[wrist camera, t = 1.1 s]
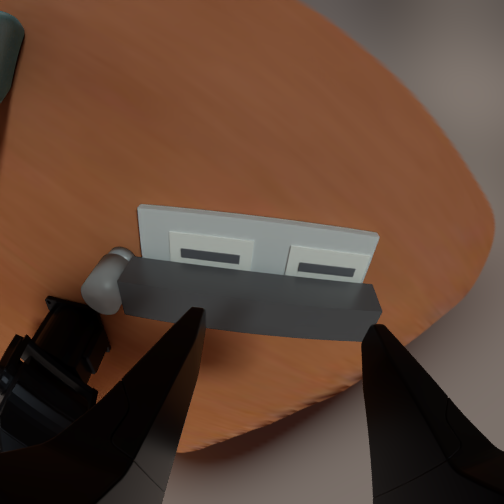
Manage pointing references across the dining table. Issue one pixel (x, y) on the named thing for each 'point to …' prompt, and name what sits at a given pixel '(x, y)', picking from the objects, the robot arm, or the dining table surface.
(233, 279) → the bar
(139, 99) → the dining table surface
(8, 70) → the flower pot
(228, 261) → the label board
